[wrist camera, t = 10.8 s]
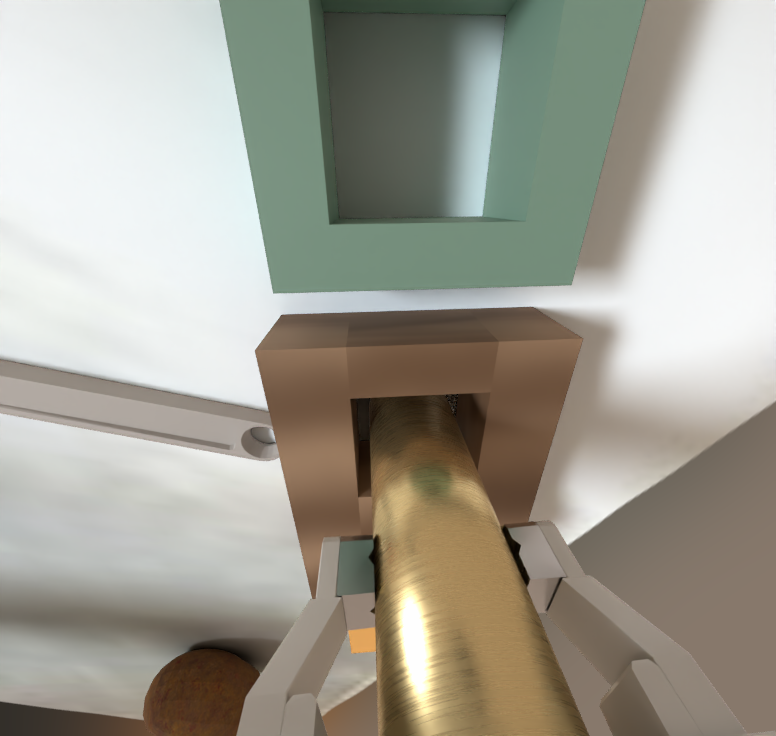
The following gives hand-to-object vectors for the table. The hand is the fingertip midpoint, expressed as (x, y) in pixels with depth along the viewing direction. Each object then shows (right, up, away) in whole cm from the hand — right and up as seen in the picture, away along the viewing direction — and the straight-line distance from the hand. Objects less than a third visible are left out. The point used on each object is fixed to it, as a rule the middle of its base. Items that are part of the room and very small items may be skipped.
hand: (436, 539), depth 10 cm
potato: (-17, -22, +20) cm, 34 cm away
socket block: (0, 0, +9) cm, 9 cm away
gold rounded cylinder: (-1, +3, +6) cm, 7 cm away
